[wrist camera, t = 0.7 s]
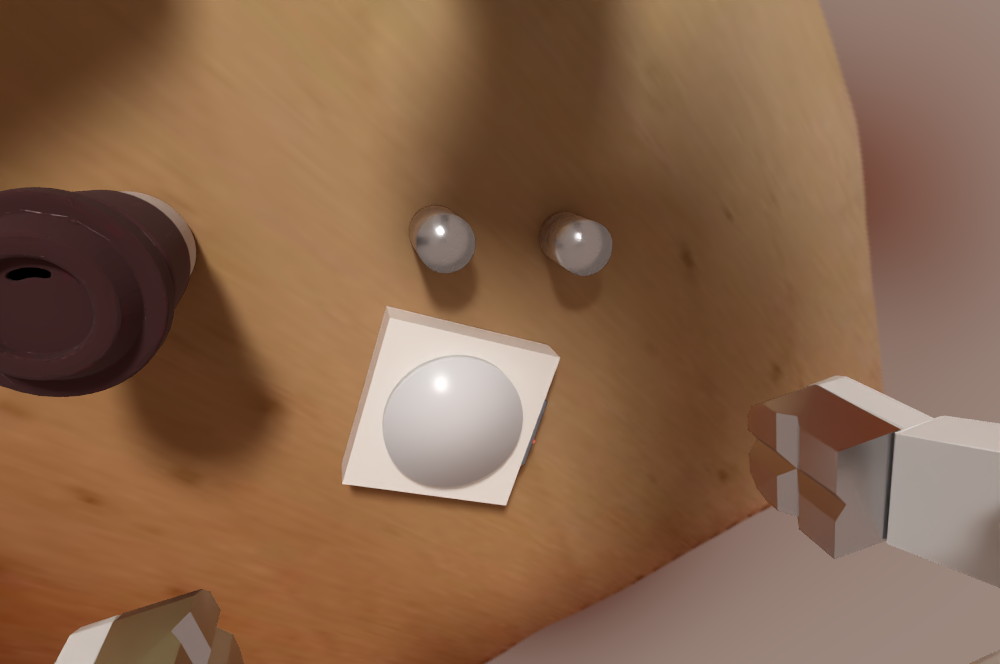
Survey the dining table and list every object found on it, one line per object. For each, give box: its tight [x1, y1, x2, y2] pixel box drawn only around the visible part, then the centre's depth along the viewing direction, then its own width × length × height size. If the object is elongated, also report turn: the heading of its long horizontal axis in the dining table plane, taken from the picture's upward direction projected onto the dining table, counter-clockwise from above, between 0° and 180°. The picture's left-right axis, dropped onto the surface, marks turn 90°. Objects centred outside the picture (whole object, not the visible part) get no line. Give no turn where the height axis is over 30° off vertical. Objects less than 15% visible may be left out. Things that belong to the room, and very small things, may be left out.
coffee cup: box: [0, 187, 196, 397], centre depth 32 cm, size 10×10×15 cm
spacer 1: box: [409, 205, 475, 273], centre depth 41 cm, size 4×4×5 cm
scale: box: [342, 306, 560, 505], centre depth 47 cm, size 14×15×4 cm
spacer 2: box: [539, 212, 612, 276], centre depth 44 cm, size 4×4×5 cm
